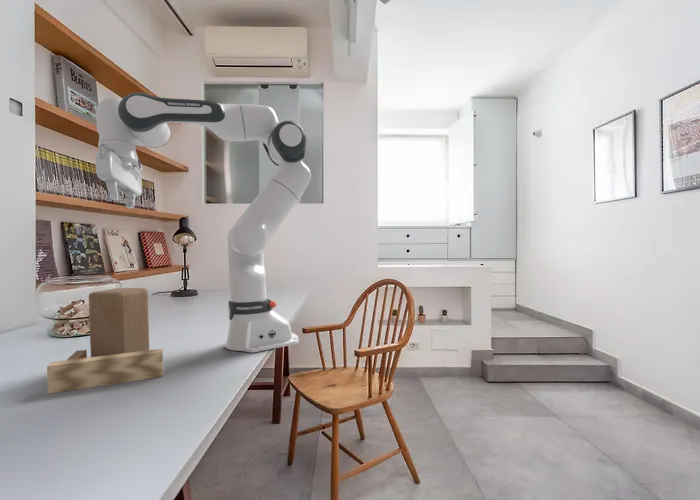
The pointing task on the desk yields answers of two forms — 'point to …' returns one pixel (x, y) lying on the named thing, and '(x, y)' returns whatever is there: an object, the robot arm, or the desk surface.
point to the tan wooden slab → (103, 369)
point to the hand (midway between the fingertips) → (122, 203)
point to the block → (118, 321)
